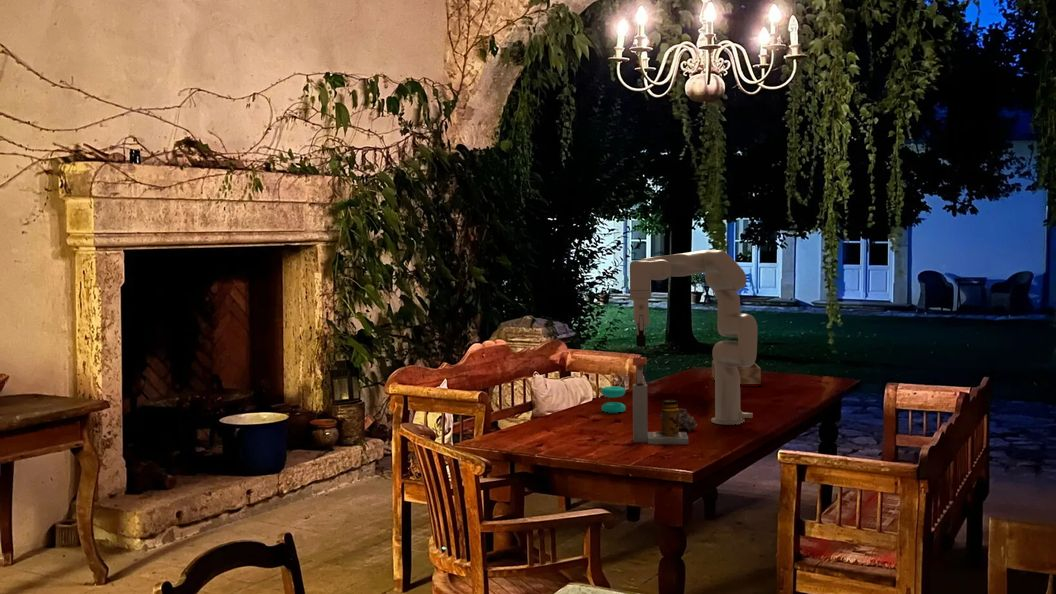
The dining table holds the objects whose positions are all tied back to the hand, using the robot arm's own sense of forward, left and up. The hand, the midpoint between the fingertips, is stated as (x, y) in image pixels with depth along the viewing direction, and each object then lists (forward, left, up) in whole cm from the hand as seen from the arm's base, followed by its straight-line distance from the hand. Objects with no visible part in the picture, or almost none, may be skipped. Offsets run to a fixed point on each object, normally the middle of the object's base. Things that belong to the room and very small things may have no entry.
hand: (641, 346), depth 374 cm
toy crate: (-49, -136, -33) cm, 149 cm away
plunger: (+1, +5, -17) cm, 17 cm away
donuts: (+10, -55, -34) cm, 65 cm away
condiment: (-9, +4, -31) cm, 33 cm away
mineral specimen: (-15, -16, -34) cm, 40 cm away
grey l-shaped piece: (-6, +5, -33) cm, 34 cm away
